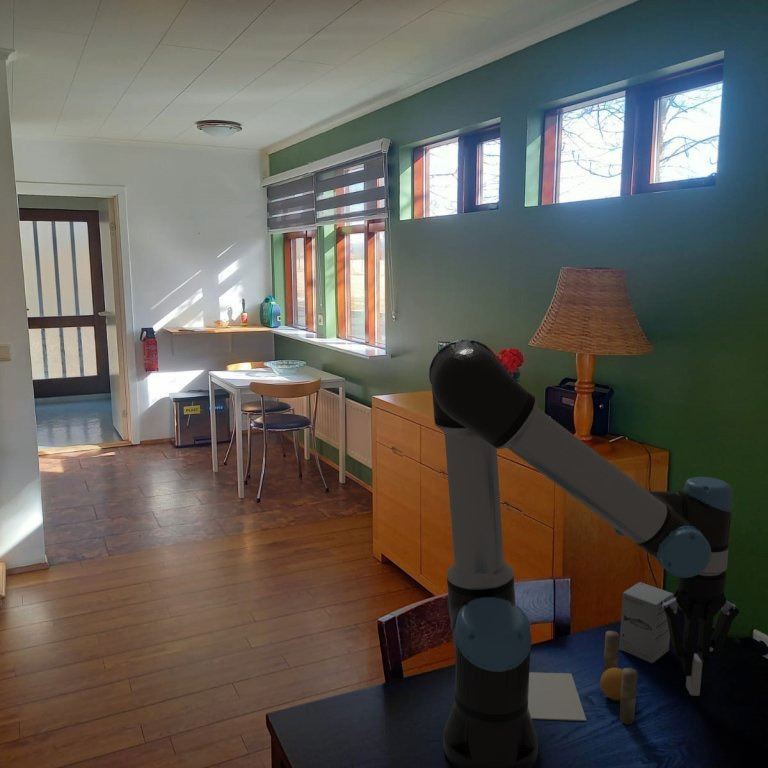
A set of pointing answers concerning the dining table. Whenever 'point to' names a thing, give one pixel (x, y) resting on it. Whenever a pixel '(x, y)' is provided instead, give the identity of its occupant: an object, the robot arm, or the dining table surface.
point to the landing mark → (554, 697)
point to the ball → (612, 683)
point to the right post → (628, 695)
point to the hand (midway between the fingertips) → (692, 690)
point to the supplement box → (644, 622)
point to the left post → (611, 650)
